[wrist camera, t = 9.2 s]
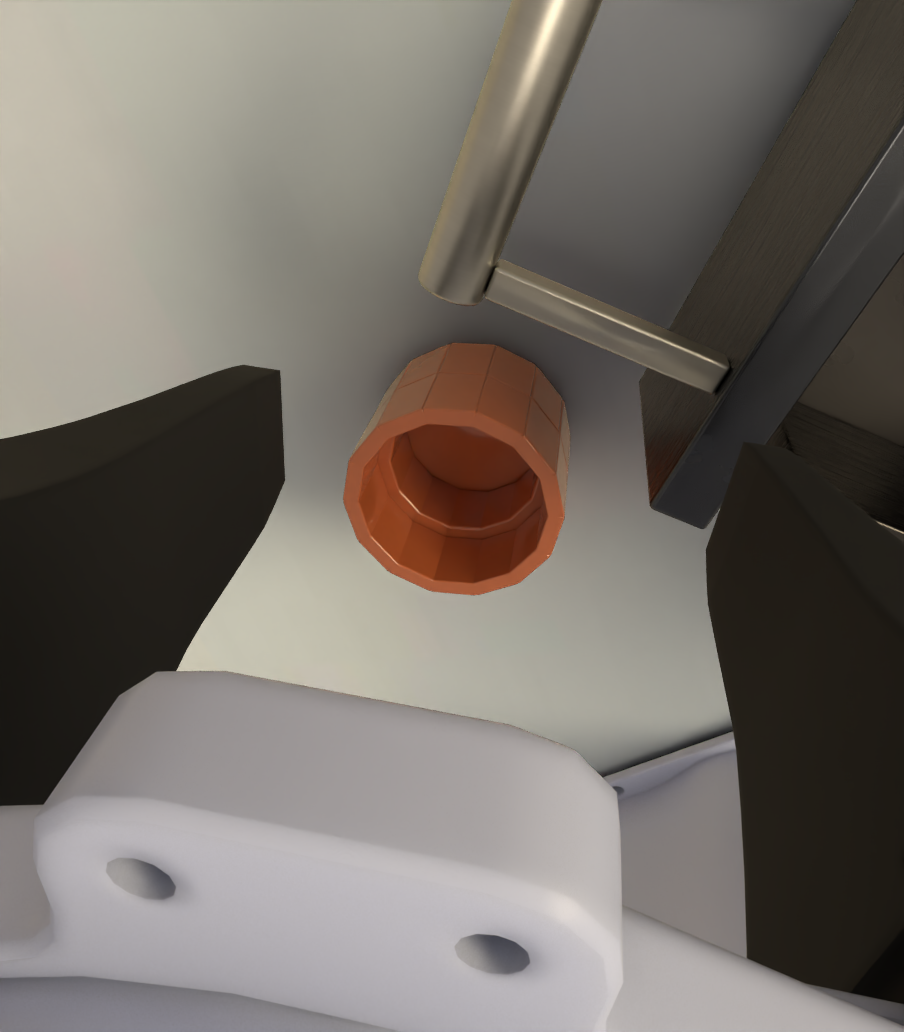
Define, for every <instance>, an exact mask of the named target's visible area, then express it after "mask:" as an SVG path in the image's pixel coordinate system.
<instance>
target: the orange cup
mask: <svg viewBox="0 0 904 1032" xmlns="http://www.w3.org/2000/svg"><path fill="white" fill-rule="evenodd" d="M570 440H571V436H570V430H569V425H568V419H567V414H566V409H565V403H564V400H562V397H561V396H560V395H559V393H558V392H557V391H556V390H555V388H554V387H553V386H552V384H551V383H550V382H549V381H548V379H547V378H546V377H545V375H544V374H543V373H542V372H541V370H540V369H539V368H538V367H536V365H535V364H533V363H531V362H529V361H527V360H525V359H523V358H521V357H519V356H518V355H516V354H514V353H512V352H510V351H508V350H506V349H504V348H502V347H500V346H496V345H494V344H470V343H451V344H447V345H445V346H443V347H440V348H438V349H436V350H433V351H431V352H429V353H426V354H424V355H422V356H419V357H417V358H414V359H413V360H412V361H411V362H409V363H408V364H407V366H406V367H405V368H404V369H403V371H402V372H401V373H400V374H399V376H398V377H397V378H396V379H395V380H394V382H393V383H392V384H391V385H390V387H389V388H388V389H387V391H386V393H385V395H384V397H383V399H382V400H381V402H380V404H379V406H378V408H377V410H376V411H375V413H374V415H373V417H372V419H371V421H370V422H369V424H368V426H367V427H366V429H365V431H364V433H363V435H362V437H361V438H360V440H359V442H358V444H357V446H356V448H355V449H354V451H353V453H352V455H351V457H350V459H349V461H348V468H347V475H346V481H345V488H344V495H343V500H344V501H343V503H344V505H345V508H346V511H347V513H348V516H349V519H350V521H351V524H352V527H353V529H354V532H355V535H356V537H357V539H358V541H359V542H360V543H361V544H362V545H363V546H364V547H365V548H366V549H367V550H368V551H369V553H370V554H371V555H372V556H373V557H374V558H375V559H376V560H377V561H378V562H379V563H380V564H381V565H382V566H383V567H384V568H385V569H386V570H387V571H390V573H392V574H394V575H396V576H398V577H400V578H403V579H405V580H407V581H409V582H411V583H414V584H416V585H418V586H420V587H422V588H424V589H427V590H429V591H432V592H443V593H454V594H465V595H480V594H484V593H487V592H491V591H494V590H498V589H501V588H505V587H508V586H512V585H515V584H518V583H520V582H521V581H522V580H523V579H525V578H526V577H527V576H528V575H529V574H530V573H532V572H533V571H534V570H535V569H536V568H537V567H538V566H540V565H541V564H542V563H543V562H544V561H545V560H547V559H548V558H549V557H550V555H551V554H552V551H553V549H554V546H555V543H556V540H557V538H558V535H559V532H560V529H561V527H562V524H563V521H564V518H565V505H566V492H567V479H568V466H569V453H570Z"/></svg>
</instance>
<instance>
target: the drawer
mask: <svg viewBox="0 0 904 1032" xmlns="http://www.w3.org/2000/svg"><path fill="white" fill-rule="evenodd" d="M602 1H603V0H512V2H511V5H510V8H509V11H508V13H507V16H506V19H505V22H504V25H503V28H502V31H501V34H500V37H499V40H498V43H497V46H496V48H495V51H494V54H493V57H492V60H491V63H490V66H489V69H488V72H487V75H486V78H485V81H484V84H483V86H482V89H481V92H480V95H479V98H478V101H477V104H476V107H475V110H474V113H473V116H472V119H471V121H470V124H469V127H468V130H467V133H466V136H465V139H464V142H463V145H462V148H461V151H460V154H459V157H458V159H457V162H456V165H455V168H454V171H453V174H452V177H451V180H450V183H449V186H448V189H447V192H446V194H445V197H444V200H443V203H442V206H441V209H440V212H439V215H438V218H437V221H436V224H435V227H434V230H433V232H432V235H431V238H430V241H429V244H428V247H427V250H426V253H425V256H424V259H423V262H422V265H421V267H420V270H419V273H418V279H419V282H420V284H421V285H422V286H423V287H424V288H425V289H426V290H427V291H429V292H430V293H432V294H433V295H435V296H437V297H439V298H441V299H443V300H445V301H448V302H451V303H454V304H458V305H464V306H474V305H477V304H479V303H480V302H481V301H482V299H483V296H484V294H485V298H486V299H487V300H490V301H492V302H494V303H497V304H499V305H501V306H504V307H506V308H509V309H511V310H513V311H516V312H518V313H520V314H523V315H525V316H527V317H530V318H532V319H534V320H537V321H539V322H542V323H544V324H546V325H549V326H551V327H553V328H556V329H558V330H560V331H563V332H565V333H568V334H570V335H572V336H575V337H577V338H579V339H582V340H584V341H586V342H589V343H591V344H593V345H596V346H598V347H601V348H603V349H605V350H608V351H610V352H612V353H615V354H617V355H619V356H622V357H624V358H626V359H629V360H631V361H634V362H636V363H638V364H641V365H643V366H645V367H647V369H646V371H645V372H644V374H643V376H642V378H641V379H640V381H639V387H640V399H641V410H642V422H643V434H644V446H645V457H646V469H647V481H648V492H649V504H650V507H651V508H652V509H654V510H656V511H658V512H661V513H663V514H666V515H668V516H671V517H673V518H676V519H678V520H680V521H683V522H685V523H688V524H690V525H693V526H695V527H697V528H700V529H705V528H706V527H707V526H708V524H709V523H710V521H711V520H712V519H713V517H714V516H715V514H716V513H717V512H718V510H719V509H720V508H721V505H722V502H723V500H724V497H725V494H726V491H727V488H728V485H729V482H730V480H731V477H732V474H733V471H734V468H735V465H736V462H737V459H738V457H739V454H740V451H741V448H742V445H743V442H750V443H756V444H763V445H769V446H776V447H782V448H786V449H788V450H789V451H791V452H793V453H794V454H795V455H797V456H798V457H800V458H801V459H802V460H803V461H805V462H806V463H807V464H808V465H810V466H811V467H812V468H813V469H814V470H816V471H817V472H818V473H819V474H820V475H822V476H823V477H824V478H825V479H826V480H827V481H829V482H830V483H831V484H832V485H833V486H834V487H836V488H837V489H838V490H839V491H840V492H842V493H843V494H844V495H845V496H846V497H847V498H849V499H850V500H851V501H852V502H853V503H855V504H856V505H857V506H858V507H859V508H861V509H862V510H863V511H864V512H865V513H867V514H868V515H869V516H870V517H871V518H873V519H874V520H875V521H876V522H878V523H879V524H880V525H881V526H883V527H884V528H885V529H887V530H888V531H889V532H890V533H892V534H893V535H894V536H896V537H897V538H898V539H900V540H901V541H902V542H904V0H857V1H856V2H855V4H854V6H853V8H852V9H851V11H850V13H849V15H848V16H847V18H846V20H845V22H844V23H843V25H842V27H841V29H840V30H839V32H838V34H837V36H836V37H835V39H834V41H833V43H832V44H831V46H830V48H829V50H828V51H827V53H826V55H825V57H824V58H823V60H822V62H821V64H820V65H819V67H818V69H817V71H816V72H815V74H814V76H813V78H812V79H811V81H810V83H809V85H808V87H807V88H806V90H805V92H804V94H803V95H802V97H801V99H800V101H799V102H798V104H797V106H796V108H795V109H794V111H793V113H792V115H791V116H790V118H789V120H788V122H787V123H786V125H785V127H784V129H783V130H782V132H781V134H780V136H779V137H778V139H777V141H776V143H775V144H774V146H773V148H772V150H771V151H770V153H769V155H768V157H767V158H766V160H765V162H764V164H763V165H762V167H761V169H760V171H759V172H758V174H757V176H756V178H755V179H754V181H753V183H752V185H751V186H750V188H749V190H748V192H747V193H746V195H745V197H744V199H743V200H742V202H741V204H740V206H739V208H738V209H737V211H736V213H735V215H734V216H733V218H732V220H731V222H730V223H729V225H728V227H727V229H726V230H725V232H724V234H723V236H722V237H721V239H720V241H719V243H718V244H717V246H716V248H715V250H714V251H713V253H712V255H711V257H710V258H709V260H708V262H707V264H706V265H705V267H704V269H703V271H702V272H701V274H700V276H699V278H698V279H697V281H696V283H695V285H694V286H693V288H692V290H691V292H690V293H689V295H688V297H687V299H686V300H685V302H684V304H683V306H682V307H681V309H680V311H679V313H678V314H677V316H676V318H675V320H674V321H673V323H672V325H671V327H670V329H669V330H666V329H664V328H662V327H659V326H657V325H655V324H652V323H650V322H648V321H645V320H643V319H641V318H638V317H636V316H634V315H631V314H629V313H627V312H624V311H622V310H620V309H617V308H615V307H613V306H610V305H608V304H606V303H603V302H601V301H599V300H596V299H594V298H592V297H589V296H587V295H585V294H582V293H580V292H578V291H575V290H573V289H571V288H568V287H566V286H564V285H561V284H559V283H557V282H554V281H552V280H550V279H547V278H545V277H543V276H540V275H538V274H536V273H533V272H531V271H529V270H526V269H524V268H522V267H519V266H517V265H515V264H512V263H510V262H508V261H505V260H503V259H500V260H499V261H498V259H499V257H500V254H501V252H502V249H503V247H504V244H505V242H506V239H507V237H508V234H509V232H510V229H511V227H512V224H513V222H514V219H515V217H516V214H517V212H518V209H519V207H520V204H521V202H522V199H523V197H524V195H525V192H526V190H527V187H528V185H529V182H530V180H531V177H532V175H533V172H534V170H535V167H536V165H537V162H538V160H539V157H540V155H541V152H542V150H543V147H544V145H545V142H546V140H547V137H548V135H549V132H550V130H551V127H552V125H553V122H554V120H555V117H556V115H557V113H558V110H559V108H560V105H561V103H562V100H563V98H564V95H565V93H566V90H567V88H568V85H569V83H570V80H571V78H572V75H573V73H574V70H575V68H576V65H577V63H578V60H579V58H580V55H581V53H582V50H583V48H584V45H585V43H586V40H587V38H588V35H589V33H590V30H591V28H592V26H593V23H594V21H595V18H596V16H597V13H598V11H599V8H600V6H601V3H602Z"/></svg>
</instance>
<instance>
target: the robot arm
mask: <svg viewBox="0 0 904 1032" xmlns="http://www.w3.org/2000/svg"><path fill="white" fill-rule="evenodd" d="M284 482H285V468H284V446H283V423H282V401H281V378H280V370H274V369H267V368H261V367H254V366H248V365H240V366H235V367H231V368H227V369H224V370H221V371H218V372H215V373H212V374H209V375H206V376H204V377H201V378H198V379H196V380H193V381H190V382H188V383H185V384H182V385H180V386H177V387H174V388H172V389H169V390H166V391H164V392H161V393H158V394H156V395H153V396H150V397H148V398H145V399H142V400H139V401H136V402H133V403H130V404H127V405H124V406H121V407H118V408H115V409H112V410H109V411H106V412H103V413H100V414H97V415H94V416H91V417H88V418H85V419H81V420H78V421H75V422H71V423H67V424H64V425H60V426H56V427H53V428H48V429H44V430H40V431H36V432H31V433H27V434H23V435H19V436H14V437H9V438H4V439H0V1032H904V542H902V541H901V540H900V539H898V538H897V537H896V536H894V535H893V534H892V533H890V532H889V531H888V530H887V529H885V528H884V527H883V526H881V525H880V524H879V523H878V522H876V521H875V520H874V519H873V518H871V517H870V516H869V515H868V514H867V513H865V512H864V511H863V510H862V509H861V508H859V507H858V506H857V505H856V504H855V503H853V502H852V501H851V500H850V499H849V498H847V497H846V496H845V495H844V494H843V493H842V492H840V491H839V490H838V489H837V488H836V487H834V486H833V485H832V484H831V483H830V482H829V481H827V480H826V479H825V478H824V477H823V476H822V475H820V474H819V473H818V472H817V471H816V470H814V469H813V468H812V467H811V466H810V465H808V464H807V463H806V462H805V461H803V460H802V459H801V458H800V457H798V456H797V455H795V454H794V453H793V452H791V451H789V450H788V449H786V448H782V447H776V446H769V445H763V444H756V443H750V442H743V445H742V448H741V451H740V454H739V457H738V459H737V462H736V465H735V468H734V471H733V474H732V477H731V480H730V482H729V485H728V488H727V491H726V494H725V497H724V500H723V502H722V505H721V508H720V511H719V514H718V517H717V520H716V523H715V525H714V528H713V531H712V534H711V537H710V540H709V543H708V546H707V548H706V573H707V595H708V606H709V612H710V617H711V622H712V627H713V633H714V638H715V643H716V648H717V653H718V658H719V662H720V667H721V672H722V677H723V682H724V687H725V692H726V697H727V701H728V706H729V711H730V716H731V721H732V727H733V731H732V732H730V733H727V734H724V735H721V736H718V737H716V738H713V739H710V740H707V741H704V742H701V743H699V744H696V745H693V746H690V747H687V748H685V749H682V750H679V751H676V752H673V753H670V754H668V755H665V756H662V757H659V758H656V759H653V760H651V761H648V762H645V763H642V764H639V765H637V766H634V767H631V768H628V769H625V770H622V771H620V772H617V773H614V774H611V775H608V776H605V777H603V778H602V777H601V776H600V775H599V774H598V773H597V772H596V771H595V770H594V769H593V768H592V767H591V766H590V764H589V763H588V762H587V761H586V760H585V759H584V758H583V757H582V756H581V755H580V754H579V753H578V752H577V751H575V750H573V749H571V748H569V747H567V746H565V745H562V744H559V743H557V742H554V741H552V740H549V739H546V738H544V737H541V736H538V735H536V734H533V733H531V732H528V731H525V730H523V729H520V728H517V727H515V726H512V725H509V724H504V723H498V722H493V721H488V720H482V719H477V718H472V717H467V716H461V715H456V714H451V713H445V712H440V711H435V710H429V709H424V708H419V707H413V706H408V705H403V704H398V703H392V702H387V701H382V700H376V699H371V698H366V697H360V696H355V695H350V694H345V693H339V692H334V691H329V690H323V689H318V688H313V687H307V686H302V685H297V684H292V683H286V682H281V681H276V680H270V679H265V678H260V677H254V676H249V675H244V674H239V673H233V672H228V671H176V670H177V668H178V666H179V664H180V662H181V660H182V658H183V656H184V654H185V652H186V650H187V648H188V646H189V645H190V643H191V641H192V639H193V638H194V636H195V634H196V633H197V631H198V629H199V628H200V626H201V624H202V623H203V621H204V620H205V618H206V617H207V615H208V614H209V612H210V610H211V609H212V607H213V606H214V604H215V603H216V601H217V600H218V598H219V597H220V595H221V594H222V592H223V591H224V589H225V588H226V586H227V585H228V583H229V582H230V580H231V578H232V577H233V575H234V574H235V572H236V571H237V569H238V568H239V566H240V565H241V563H242V562H243V560H244V559H245V557H246V555H247V554H248V552H249V551H250V549H251V548H252V546H253V545H254V543H255V541H256V540H257V538H258V537H259V535H260V533H261V532H262V530H263V529H264V527H265V525H266V523H267V520H268V518H269V516H270V514H271V512H272V510H273V508H274V505H275V503H276V501H277V498H278V496H279V493H280V491H281V489H282V486H283V484H284Z"/></svg>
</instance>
